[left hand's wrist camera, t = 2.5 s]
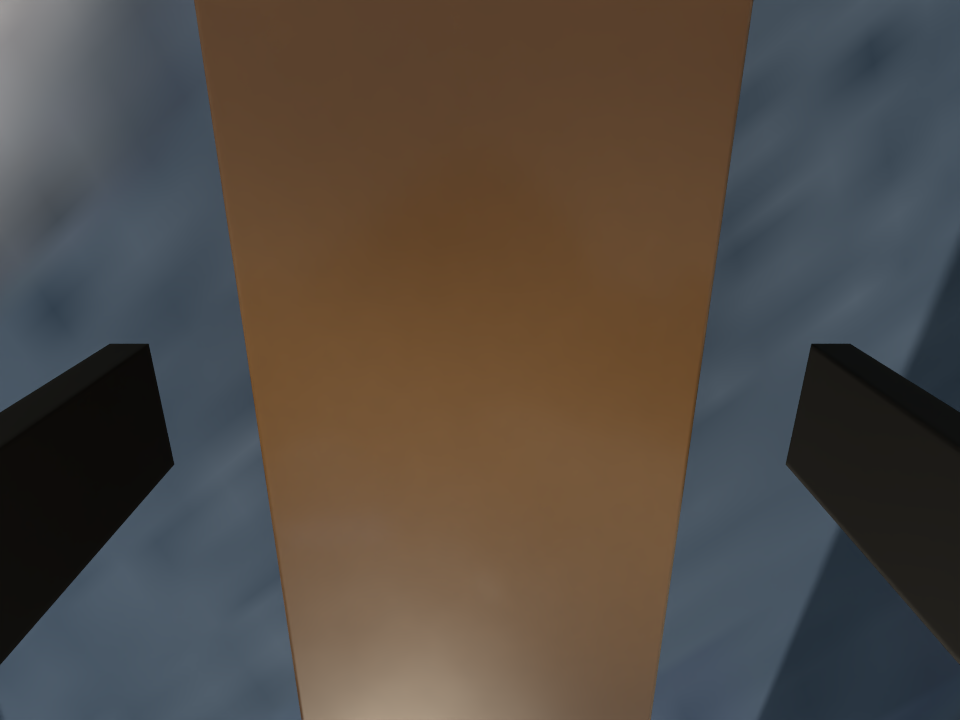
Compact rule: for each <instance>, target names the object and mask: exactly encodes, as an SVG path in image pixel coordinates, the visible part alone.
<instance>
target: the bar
mask: <svg viewBox="0 0 960 720" xmlns="http://www.w3.org/2000/svg"><path fill="white" fill-rule="evenodd" d="M194 3H195V9H196V16H197V23H198V29H199V36H200V43H201V49H202V56H203V63H204V69H205V76H206V83H207V90H208V96H209V103H210V110H211V116H212V123H213V130H214V136H215V143H216V150H217V157H218V163H219V170H220V177H221V183H222V190H223V197H224V203H225V210H226V217H227V223H228V230H229V237H230V244H231V250H232V257H233V264H234V270H235V277H236V284H237V290H238V297H239V304H240V310H241V317H242V324H243V331H244V337H245V344H246V351H247V357H248V364H249V371H250V377H251V384H252V391H253V398H254V404H255V411H256V418H257V424H258V431H259V438H260V444H261V451H262V458H263V464H264V471H265V478H266V485H267V491H268V498H269V505H270V511H271V518H272V525H273V531H274V538H275V545H276V552H277V558H278V565H279V572H280V578H281V585H282V592H283V598H284V605H285V612H286V618H287V625H288V632H289V639H290V645H291V652H292V659H293V665H294V672H295V679H296V685H297V692H298V699H299V706H300V712H301V719H302V720H651V713H652V706H653V699H654V692H655V685H656V678H657V671H658V664H659V657H660V650H661V643H662V636H663V629H664V622H665V615H666V608H667V601H668V594H669V587H670V580H671V573H672V566H673V559H674V552H675V545H676V538H677V531H678V524H679V517H680V510H681V503H682V496H683V489H684V482H685V475H686V468H687V461H688V454H689V447H690V440H691V433H692V426H693V419H694V412H695V405H696V398H697V391H698V384H699V377H700V370H701V363H702V356H703V349H704V342H705V335H706V328H707V321H708V314H709V307H710V300H711V293H712V286H713V279H714V272H715V265H716V258H717V251H718V244H719V237H720V230H721V223H722V216H723V209H724V202H725V195H726V188H727V181H728V174H729V167H730V160H731V153H732V146H733V139H734V132H735V125H736V118H737V111H738V104H739V97H740V90H741V83H742V76H743V69H744V62H745V55H746V48H747V41H748V34H749V27H750V20H751V13H752V6H753V0H194Z"/></svg>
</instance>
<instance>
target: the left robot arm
mask: <svg viewBox="0 0 960 720" xmlns="http://www.w3.org/2000/svg"><path fill="white" fill-rule="evenodd" d="M173 465H174V461H173V456H172V452H171V447H170V442H169V437H168V433H167V428H166V423H165V419H164V414H163V409H162V405H161V400H160V395H159V390H158V386H157V381H156V376H155V372H154V367H153V362H152V358H151V353H150V348H149V344H109V345H107V346H106V347H104V348H102V349H101V350H99V351H98V352H96V353H94V354H93V355H91V356H90V357H88V358H86V359H85V360H83V361H82V362H80V363H78V364H77V365H75V366H74V367H72V368H70V369H69V370H67V371H66V372H64V373H63V374H61V375H59V376H58V377H56V378H55V379H53V380H51V381H50V382H48V383H47V384H45V385H43V386H42V387H40V388H39V389H37V390H35V391H34V392H32V393H31V394H29V395H27V396H26V397H24V398H23V399H21V400H19V401H18V402H16V403H15V404H13V405H11V406H10V407H8V408H7V409H5V410H3V411H2V412H0V664H1V663H2V662H3V661H4V660H5V659H6V658H7V656H8V655H9V654H10V653H11V652H12V651H13V649H14V648H15V647H16V646H17V645H18V644H19V643H20V641H21V640H22V639H23V638H24V637H25V636H26V634H27V633H28V632H29V631H30V630H31V629H32V628H33V626H34V625H35V624H36V623H37V622H38V621H39V619H40V618H41V617H42V616H43V615H44V614H45V613H46V611H47V610H48V609H49V608H50V607H51V606H52V605H53V603H54V602H55V601H56V600H57V599H58V598H59V596H60V595H61V594H62V593H63V592H64V591H65V590H66V588H67V587H68V586H69V585H70V584H71V583H72V581H73V580H74V579H75V578H76V577H77V576H78V575H79V573H80V572H81V571H82V570H83V569H84V568H85V567H86V565H87V564H88V563H89V562H90V561H91V560H92V558H93V557H94V556H95V555H96V554H97V553H98V552H99V550H100V549H101V548H102V547H103V546H104V545H105V543H106V542H107V541H108V540H109V539H110V538H111V537H112V535H113V534H114V533H115V532H116V531H117V530H118V529H119V527H120V526H121V525H122V524H123V523H124V522H125V520H126V519H127V518H128V517H129V516H130V515H131V514H132V512H133V511H134V510H135V509H136V508H137V507H138V505H139V504H140V503H141V502H142V501H143V500H144V499H145V497H146V496H147V495H148V494H149V493H150V492H151V490H152V489H153V488H154V487H155V486H156V485H157V484H158V482H159V481H160V480H161V479H162V478H163V477H164V476H165V474H166V473H167V472H168V471H169V470H170V469H171V467H172V466H173ZM786 465H787V466H788V467H789V469H790V470H791V471H792V472H793V473H794V474H795V476H796V477H797V478H798V479H799V480H800V481H801V482H802V484H803V485H804V486H805V487H806V488H807V489H808V490H809V492H810V493H811V494H812V495H813V496H814V497H815V499H816V500H817V501H818V502H819V503H820V504H821V505H822V507H823V508H824V509H825V510H826V511H827V512H828V514H829V515H830V516H831V517H832V518H833V519H834V520H835V522H836V523H837V524H838V525H839V526H840V527H841V529H842V530H843V531H844V532H845V533H846V534H847V535H848V537H849V538H850V539H851V540H852V541H853V542H854V543H855V545H856V546H857V547H858V548H859V549H860V550H861V552H862V553H863V554H864V555H865V556H866V557H867V558H868V560H869V561H870V562H871V563H872V564H873V565H874V567H875V568H876V569H877V570H878V571H879V572H880V573H881V575H882V576H883V577H884V578H885V579H886V580H887V581H888V583H889V584H890V585H891V586H892V587H893V588H894V590H895V591H896V592H897V593H898V594H899V595H900V596H901V598H902V599H903V600H904V601H905V602H906V603H907V605H908V606H909V607H910V608H911V609H912V610H913V611H914V613H915V614H916V615H917V616H918V617H919V618H920V619H921V621H922V622H923V623H924V624H925V625H926V626H927V628H928V629H929V630H930V631H931V632H932V633H933V634H934V636H935V637H936V638H937V639H938V640H939V641H940V643H941V644H942V645H943V646H944V647H945V648H946V649H947V651H948V652H949V653H950V654H951V655H952V656H953V658H954V659H955V660H956V661H957V662H958V663H959V664H960V412H958V411H957V410H955V409H953V408H952V407H950V406H949V405H947V404H945V403H944V402H942V401H941V400H939V399H937V398H936V397H934V396H933V395H931V394H929V393H928V392H926V391H925V390H923V389H921V388H920V387H918V386H917V385H915V384H913V383H912V382H910V381H909V380H907V379H905V378H904V377H902V376H901V375H899V374H897V373H896V372H894V371H893V370H891V369H890V368H888V367H886V366H885V365H883V364H882V363H880V362H878V361H877V360H875V359H874V358H872V357H870V356H869V355H867V354H866V353H864V352H862V351H861V350H859V349H858V348H856V347H854V346H853V345H851V344H811V348H810V353H809V358H808V362H807V367H806V372H805V376H804V381H803V386H802V390H801V395H800V400H799V405H798V409H797V414H796V419H795V423H794V428H793V433H792V437H791V442H790V447H789V452H788V456H787V461H786Z"/></svg>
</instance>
